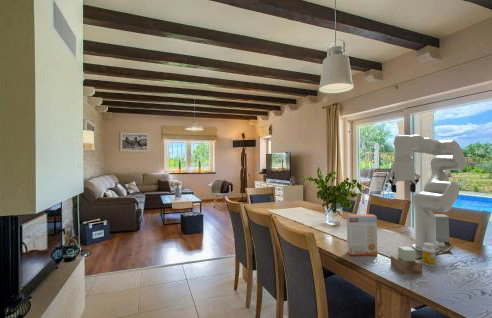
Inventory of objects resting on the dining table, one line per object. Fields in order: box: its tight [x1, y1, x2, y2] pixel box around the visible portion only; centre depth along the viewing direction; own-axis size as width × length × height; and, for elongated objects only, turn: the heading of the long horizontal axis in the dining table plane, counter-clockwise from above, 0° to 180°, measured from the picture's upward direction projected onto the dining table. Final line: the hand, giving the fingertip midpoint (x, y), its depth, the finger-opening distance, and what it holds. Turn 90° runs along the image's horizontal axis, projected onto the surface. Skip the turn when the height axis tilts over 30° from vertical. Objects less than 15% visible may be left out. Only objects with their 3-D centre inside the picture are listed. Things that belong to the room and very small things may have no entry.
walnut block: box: [390, 254, 423, 275], centre depth 122 cm, size 9×9×5 cm
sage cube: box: [397, 245, 417, 261], centre depth 121 cm, size 5×5×5 cm
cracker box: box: [346, 213, 378, 257], centre depth 141 cm, size 14×6×21 cm, turn 84°
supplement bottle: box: [421, 243, 437, 267], centre depth 127 cm, size 5×5×10 cm
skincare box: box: [433, 213, 450, 243], centre depth 161 cm, size 8×7×16 cm
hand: (403, 192), depth 137 cm, fingers open, 9 cm apart
